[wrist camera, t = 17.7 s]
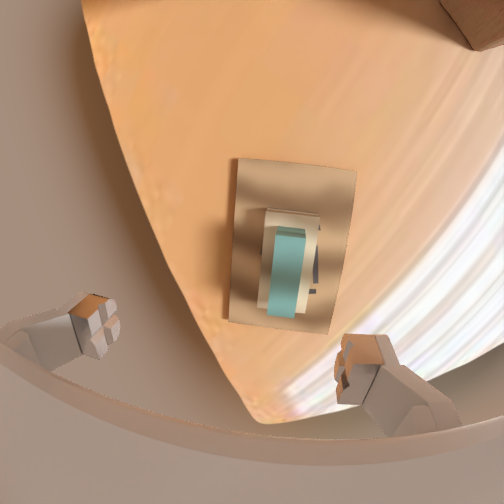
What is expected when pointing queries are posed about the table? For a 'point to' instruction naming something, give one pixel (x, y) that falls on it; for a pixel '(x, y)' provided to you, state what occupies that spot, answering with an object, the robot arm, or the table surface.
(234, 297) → the wooden board
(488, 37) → the wooden block
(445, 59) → the table surface
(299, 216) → the block
